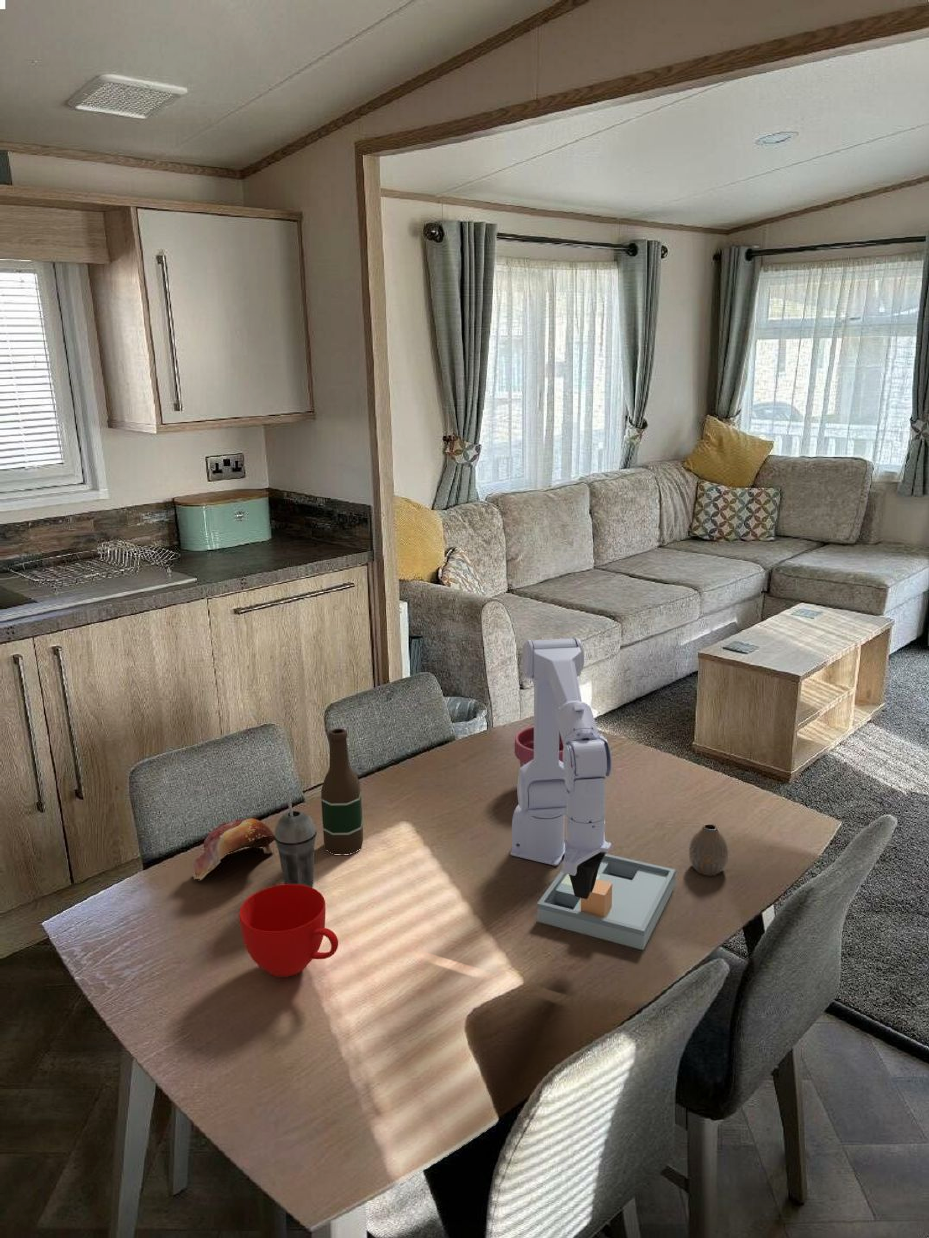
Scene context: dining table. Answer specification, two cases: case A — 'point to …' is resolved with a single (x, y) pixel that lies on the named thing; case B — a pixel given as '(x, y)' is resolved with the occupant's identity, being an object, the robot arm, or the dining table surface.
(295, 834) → the beverage cup
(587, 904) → the block
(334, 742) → the beer bottle
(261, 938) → the ceramic cup
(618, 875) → the box
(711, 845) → the vase
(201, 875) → the brown arched piece
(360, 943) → the dining table surface
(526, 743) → the plant pot
